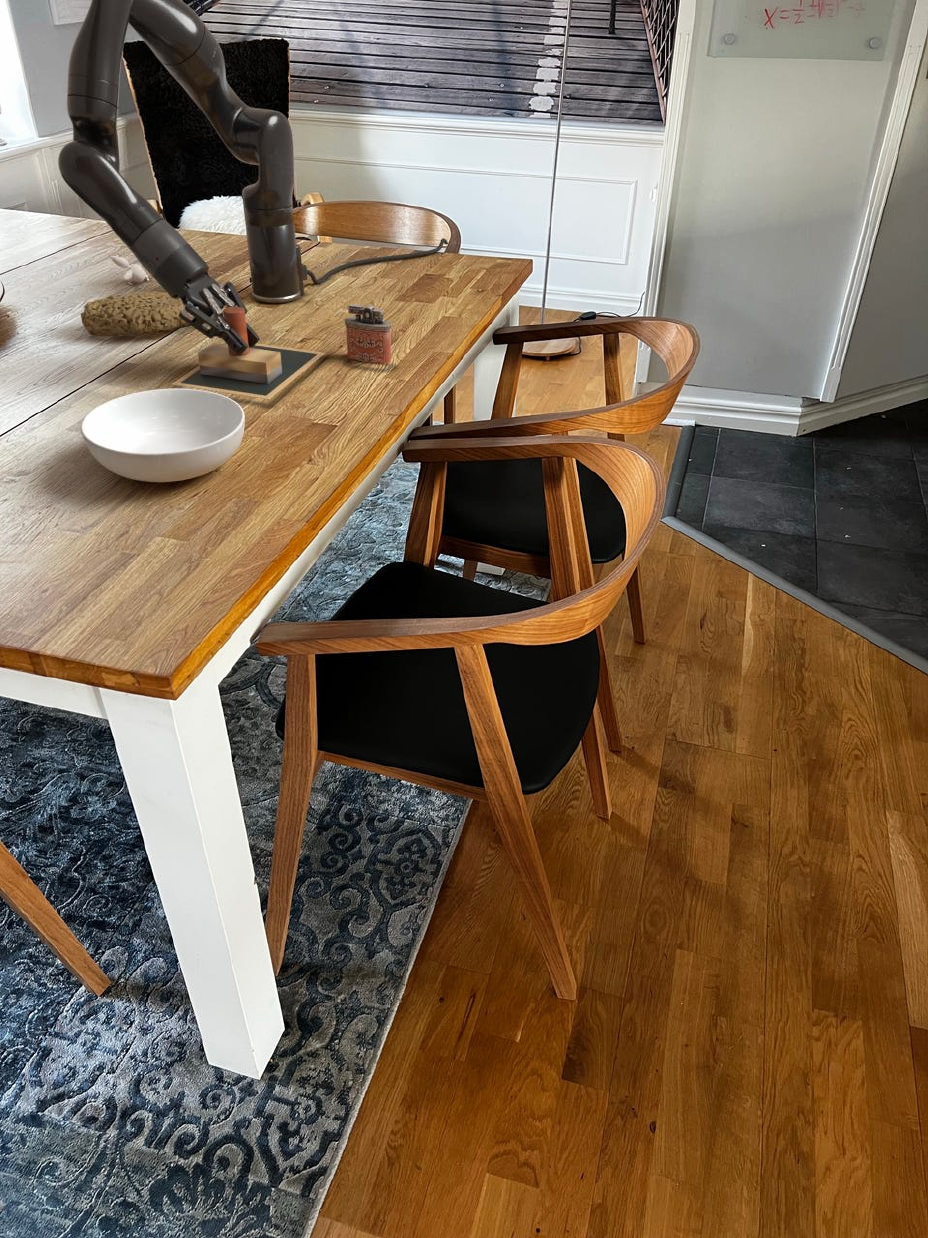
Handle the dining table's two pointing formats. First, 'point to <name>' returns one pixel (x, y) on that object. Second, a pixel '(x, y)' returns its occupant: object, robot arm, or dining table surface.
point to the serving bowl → (164, 433)
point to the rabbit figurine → (130, 270)
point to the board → (291, 368)
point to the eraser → (239, 356)
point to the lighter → (368, 335)
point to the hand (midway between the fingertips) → (249, 346)
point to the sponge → (133, 315)
